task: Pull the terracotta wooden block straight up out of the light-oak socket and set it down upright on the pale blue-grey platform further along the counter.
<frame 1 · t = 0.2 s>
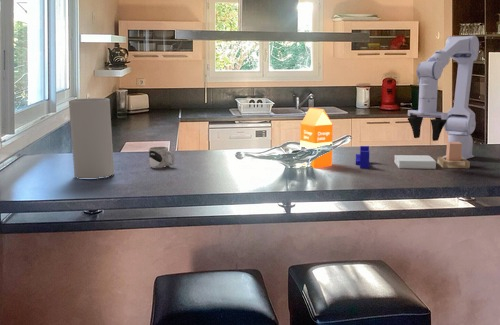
hand: (425, 139, 179), 10 cm above the worktop, fingers open, 7 cm apart
block: (453, 154, 185), in the socket
cable clip: (362, 166, 189), on the worktop
socket: (452, 165, 186), on the worktop
platform: (414, 165, 187), on the worktop
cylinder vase: (94, 176, 176), on the worktop
mug: (163, 167, 190), on the worktop
orange juice: (315, 165, 190), on the worktop
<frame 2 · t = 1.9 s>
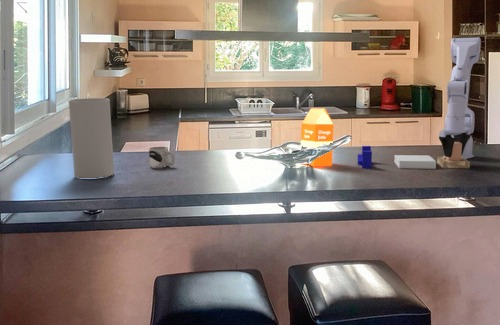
hand: (453, 155, 185), 3 cm above the worktop, fingers closed on block, 6 cm apart
block: (453, 154, 185), in the socket, touching gripper
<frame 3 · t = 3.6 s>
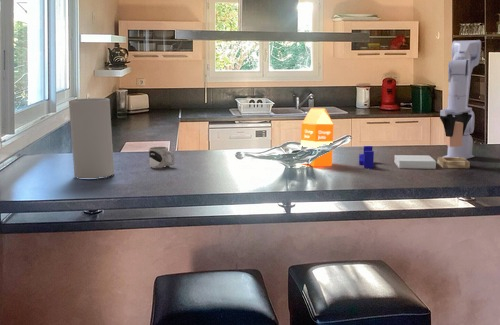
hand: (454, 135, 184), 10 cm above the worktop, fingers closed on block, 6 cm apart
block: (454, 134, 183), point 11 cm above the worktop, touching gripper
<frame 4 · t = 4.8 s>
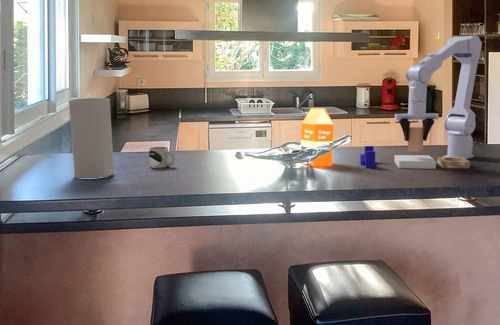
hand: (415, 140, 185), 9 cm above the worktop, fingers closed on block, 6 cm apart
block: (415, 139, 185), point 9 cm above the worktop, touching gripper
when the fingers open (7 cm above the worktop, at t = 5.6 s): block stays where it is, resting on platform.
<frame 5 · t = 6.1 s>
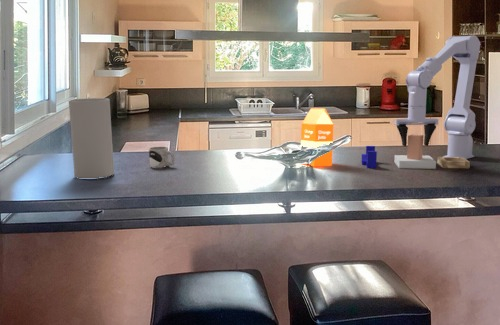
hand: (415, 145, 186), 7 cm above the worktop, fingers open, 7 cm apart
block: (415, 146, 186), on the platform, point 6 cm above the worktop
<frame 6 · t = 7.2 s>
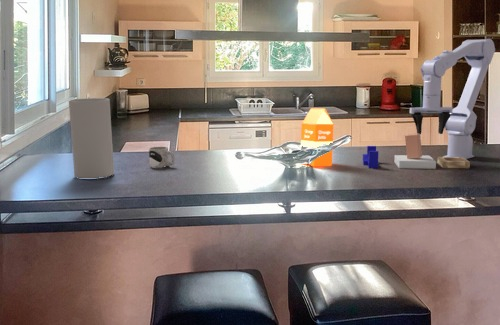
hand: (429, 133, 189), 10 cm above the worktop, fingers open, 7 cm apart
block: (413, 146, 186), on the platform, point 7 cm above the worktop, tilted 8°
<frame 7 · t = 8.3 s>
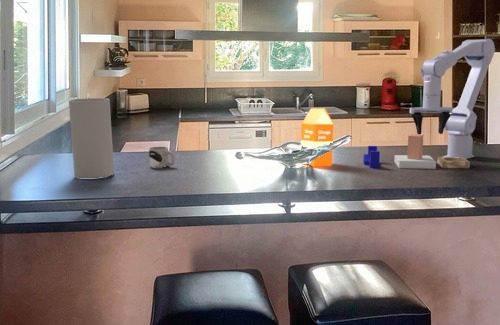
hand: (429, 133, 189), 10 cm above the worktop, fingers open, 7 cm apart
block: (415, 146, 185), on the platform, point 6 cm above the worktop
at the end: block inside the target area on the platform (0.3 cm from its centre), point 6.5 cm above the platform's base; block tilted 0°; the gripper is holding nothing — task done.
